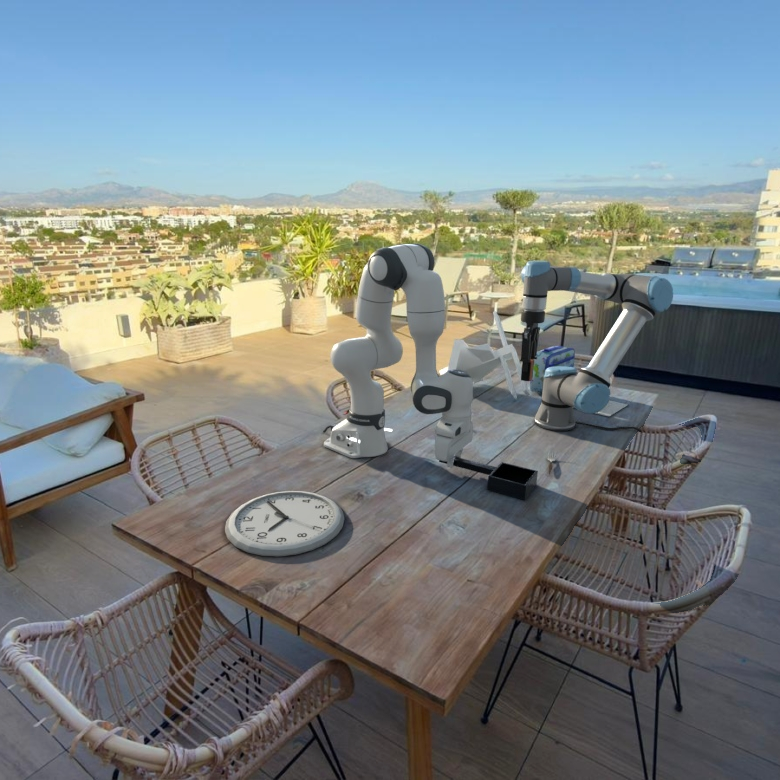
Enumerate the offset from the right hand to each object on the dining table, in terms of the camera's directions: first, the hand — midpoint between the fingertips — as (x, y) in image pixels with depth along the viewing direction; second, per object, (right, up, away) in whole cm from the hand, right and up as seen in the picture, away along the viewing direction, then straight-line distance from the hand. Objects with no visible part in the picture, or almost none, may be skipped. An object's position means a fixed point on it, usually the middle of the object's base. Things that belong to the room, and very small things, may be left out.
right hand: (526, 379), depth 177 cm
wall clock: (-73, -38, -42) cm, 92 cm away
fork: (+6, -28, -8) cm, 30 cm away
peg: (0, 0, 0) cm, 0 cm away
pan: (-18, -31, -18) cm, 40 cm away
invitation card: (+45, -11, +49) cm, 68 cm away
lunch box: (+30, -4, +70) cm, 76 cm away
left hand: (-26, -27, -14) cm, 40 cm away
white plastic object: (-5, -5, +66) cm, 67 cm away
